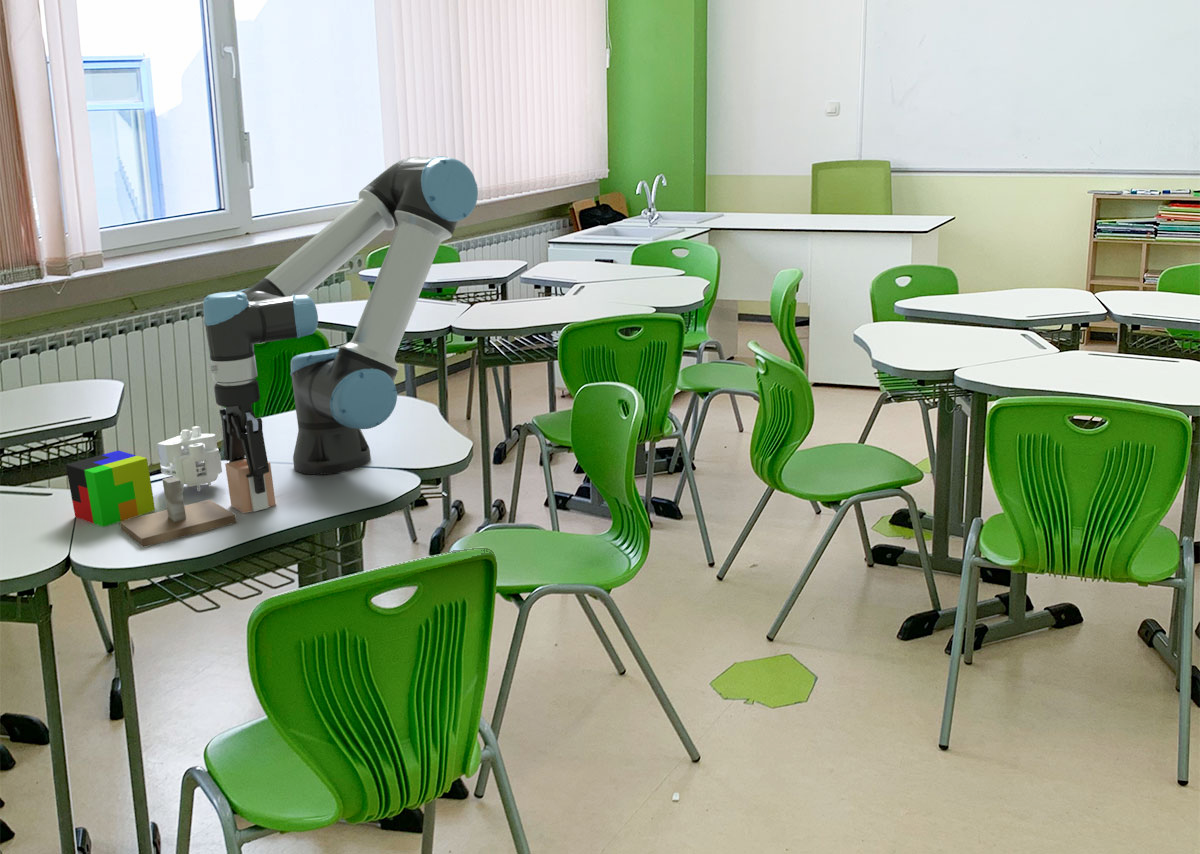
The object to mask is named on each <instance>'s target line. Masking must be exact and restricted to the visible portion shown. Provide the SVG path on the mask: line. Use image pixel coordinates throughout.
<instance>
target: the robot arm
mask: <svg viewBox="0 0 1200 854" xmlns="http://www.w3.org/2000/svg"><path fill="white" fill-rule="evenodd" d="M478 197H479V191H478V184H477V181H476V179H475V175H474V174H473V172H472V170H471V169H470V168H469V167H468V165H466V164H465V163H464V162H462V161H461V160H459V159H456V158H452V157H448V156H444V155H438V156H437V155H436V156H431V157H425V156H423V157H422V156H412V157H411V156H410V157H406V158H403V159H401V160H398V161H397V162H395V163H393V164H392V165H391V166H389V167H388V168H387V169H386V170H384V171H383V172H381V174H378V175H377V177H376V178H374V179H373V180H371V182H370V183H368V184H367V185H366V186H365V187H363V188H362V189H361V190H360V191H359V192H358V199H357V200H355V202H353V204H351V205H350V206H349V207H347V208H346V209H345V210H344V211H343V212H342V213H341V214H340V215H338V216H337V217H336V218H335V219H333V220H332V221H331V222H330V223H329V224H327V225H326V226H325V227H323V228H322V229H321V230H320V231H319V232H318V233H317V234H316V235H314V236H313V237H312V238H310V239H309V240H308V241H307V242H305V244H303V245H302V246H301V247H300V248H299V249H297V250H296V251H295V252H294V253H292V254H291V255H290V256H289V257H288V258H286V259H285V260H284V261H283V262H281V264H279V265H278V266H277V267H276V268H274V269H273V270H272V271H271V272H269V274H267V275H265V277H263V278H262V279H261V280H260V281H257V283H255V284H254V285H253V286H252V287H251V288H249V287H248V288H245V289H240V290H238V291H227V292H226V291H224V292H223V291H222V292H218V293H217V292H216V293H212V294H208V295H206V297H204V299H203V303H202V304H203V307H202V309H203V324H204V327H205V333H206V339H207V345H208V346H207V347H208V351H209V352H208V353H209V358H210V365H211V366H208V370H209V372H211V374H212V380H213V381H214V382H215V384H214V385H213V389H214V397H215V402H216V404H217V405H218V406H219V407H224V408H219V415H220V420H221V426H222V436H223V448H224V457H225V460H226V461H227V462H228V463H230V462H234V461H238V460H243V459H246V461H247V465H248V468H249V472H250V474H247V475H246V477H247V478H248V481H249V488H250V495H251V503H252V510H253V511H252V512H258V511H262V510H267V509H269V508H270V507H268V499H267V492H266V484H265V477H264V474H265V473H268V472H269V466H268V462H269V460H268V456H267V450H266V445H265V438H264V432H263V420H262V418H261V417H257V418H256V414H255V412H254V409H253V407H252V406H253V404H254V403H257V402H259V400H260V399H261V394H260V386H259V381H258V380H257V377H258V376H259V375H258V369H257V361H256V354H255V347H254V345H256V344H257V345H258V344H262V343H268V342H276V341H284V340H289V339H296V338H297V339H300V338H302V337H307V336H310V335H313V334H314V333H315V332H316V331H317V328H318V326H319V325H318V324H319V315H318V309H317V306H316V304H315V302H314V300H313V298H311V296H309V295H308V294H310V292H312V291H313V290H314V289H315V288H317V287H318V286H319V285H321V283H323V282H324V281H325V280H327V278H328V277H330V276H331V275H332V274H333V273H335V272H336V271H337V270H339V269H340V267H342V266H343V265H344V264H345V263H347V261H349V260H350V259H351V258H353V257H354V256H355V255H356V254H357V253H359V252H360V251H361V250H362V249H363V248H364V247H366V246H367V245H369V243H370V242H371V241H372V240H374V239H375V238H376V237H378V235H380V234H381V233H382V232H384V231H392V230H394V229H395V228H396V229H395V233H394V235H393V237H392V240H391V242H390V243H389V247H388V250H387V252H386V254H385V257H384V259H383V262H382V264H381V267H380V269H379V272H378V274H377V277H376V279H375V281H374V284H373V286H372V289H371V291H370V294H369V297H368V299H367V302H366V304H365V306H364V309H363V312H362V314H361V316H360V319H359V321H358V324H357V326H356V329H355V331H354V334H353V336H352V339H351V340H350V341H349V342H346V343H344V344H342V345H340V347H339V348H328V349H321V350H317V351H310V352H305V353H304V352H303V353H300V354H297V355H294V356H293V357H292V358H291V360H290V377H291V384H292V390H293V392H292V393H293V398H294V399H293V400H294V407H295V414H296V420H297V427H298V430H297V436H296V441H295V446H294V452H293V455H292V462H293V468H294V470H295V471H296V472H298V473H302V474H305V475H332V474H340V473H345V472H349V471H353V470H357V469H359V468H361V467H365V466H366V465H367V464H369V463H370V462H371V460H372V457H371V456H372V455H371V450H370V445H369V444H368V442H367V440H366V438H365V436H364V434H363V431H362V430H369V429H373V428H375V427H377V426H380V425H382V424H383V423H384V422H386V420H387V419H388V418H389V417H390V416H391V415H392V413H393V412H394V410H395V408H396V404H397V401H398V391H397V388H396V384H395V379H396V378H397V377H396V376H397V374H398V371H399V367H398V365H397V362H396V360H395V357H396V354H397V352H398V349H399V347H400V344H401V343H402V340H403V337H404V334H405V332H406V329H407V327H408V325H409V323H410V319H411V317H412V315H413V312H414V310H415V308H416V305H417V303H418V300H419V297H420V295H421V292H422V289H423V287H424V286H425V285H424V284H425V282H426V279H427V277H428V275H429V273H430V269H431V268H432V266H433V262H434V259H435V257H436V255H437V253H438V250H439V247H440V246H441V244H442V242H444V241H446V240H447V241H448V239H451V238H452V236H453V234H454V232H455V230H456V227H457V224H458V222H459V221H462V220H464V219H466V218H468V217H469V216H470V215H471V214H472V212H473V211H474V209H475V208H476V206H477V202H478Z"/></svg>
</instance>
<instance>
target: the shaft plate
mask: <svg viewBox="0 0 1200 854" xmlns="http://www.w3.org/2000/svg"><path fill="white" fill-rule="evenodd" d="M161 481H162V484H163V485H162V487H163V491H164V498H165V503H166V504H165V505H166V509H165V510H161V511H157V512H153V513H152V512H151V513H150V514H149V513H147V514H143V515H139V516H136V517H133V518H130V519H127V520H124V521H120V522H119V526H120V530H121V531H122V532H123V533H125V535H127V536H128V537H129V538H131V539H132V540H133V541H135V542H136V543H137V544H138V545H139V546H141V547H142V548H145V547H149V546H153V545H157V544H161V543H165V542H168V541H173V540H177V539H179V538H183V537H186V536H190V535H195V534H198V533H203V532H206V531H210V530H214V529H218V528H221V527H226V526H230V525H232V524H233V525H234V524H237V519H236V514H235V513H233V512H231V511H230V510H228V509H227V508H225V507H224V506H223V505H220V504H219V503H217V502H215V501H214V500H212V499H206V500H201V501H198V502H194V503H190V504H186V505H185V504H184V503H185V501H184V496H183V492H182V488H181V482H180V480H179V479H177V478H176V477H172V476H171V477H165V478H162V480H161Z"/></svg>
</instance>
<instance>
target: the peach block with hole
mask: <svg viewBox="0 0 1200 854" xmlns="http://www.w3.org/2000/svg"><path fill="white" fill-rule="evenodd" d="M224 466H225V472H226V478H227V479H226V480H227V486H228V494H229V499H230V505H231V507H233V508H235V509H236V510H238V511H239V512H241V513H243V514H246V513H249V512H254V511H253V510H252V503H251V495H250V488H249V481H248V478H247V477H246V475H247V474H250V472H249V468H248V465H247V461H246V459H243V460H238V461H234V462H230V463H229V462H227V463H224ZM268 466H269V472H268V473H265V474H264V477H265V484H266V492H267V499H268V507H269V508H270V507H274V506H277V503H276V496H275V489H274V488H275V487H274V482H273V474H272V465H271V462H269V461H268Z"/></svg>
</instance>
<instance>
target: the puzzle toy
mask: <svg viewBox="0 0 1200 854" xmlns="http://www.w3.org/2000/svg"><path fill="white" fill-rule="evenodd" d="M148 462H149V461H148V458H147V457H143V456H140V455H136V454H133V453H129V452H125V451H121V450H115V451H111V452H108V453H104V454H100V455H96V456H92V457H89V458H84V459H80V460H78V461H74V462H70V463H66V464H65V467H66V473H67V479H68V486H69V489H70V494H71V495H70V497H71V501H72V507H73V512H74V517H75V516H76V517H75V518H77V519H80V520H83V521H86V522H89V523H90V524H91V523H92V524H94V525H96V526H100V527H102V528H103V527H104V528H105V527H109V526H111V525H114V524H116V523H117V524H118V523H120V521H124V520H128V519H132V518H136V517H140V516H144V515H147V514H149V513H152V512H155V511H156V507H155V500H154V494H153V487H152V480H151V475H150V470H149V469H150V468H149V463H148Z"/></svg>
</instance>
